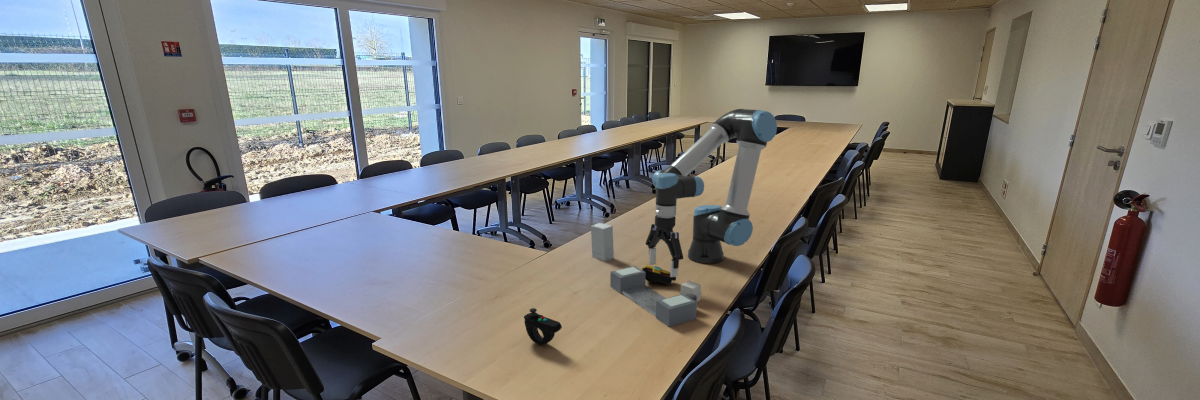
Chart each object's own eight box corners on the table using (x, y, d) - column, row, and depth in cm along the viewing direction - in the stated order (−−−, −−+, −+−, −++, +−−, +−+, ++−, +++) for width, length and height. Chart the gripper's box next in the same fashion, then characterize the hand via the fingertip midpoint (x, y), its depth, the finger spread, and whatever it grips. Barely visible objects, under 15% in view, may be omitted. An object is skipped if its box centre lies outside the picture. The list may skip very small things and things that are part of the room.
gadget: (673, 289, 187) (677, 275, 187) (638, 279, 189) (642, 264, 189) (673, 286, 193) (677, 272, 193) (640, 276, 196) (644, 262, 195)
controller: (531, 334, 154) (530, 304, 151) (564, 346, 147) (563, 315, 145) (522, 340, 150) (521, 310, 148) (554, 353, 144) (554, 321, 141)
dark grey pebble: (690, 306, 173) (691, 293, 172) (698, 311, 169) (699, 297, 168) (681, 309, 171) (682, 295, 170) (689, 313, 167) (689, 299, 166)
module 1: (634, 280, 194) (635, 265, 193) (645, 287, 188) (645, 271, 187) (610, 286, 189) (610, 270, 187) (620, 293, 183) (620, 277, 182)
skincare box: (614, 258, 218) (614, 225, 214) (604, 262, 214) (604, 228, 210) (600, 254, 224) (600, 221, 220) (590, 257, 219) (590, 224, 216)
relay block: (688, 296, 181) (689, 280, 180) (700, 300, 177) (701, 284, 176) (680, 300, 178) (680, 284, 176) (691, 304, 174) (692, 288, 173)
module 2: (682, 310, 170) (683, 293, 168) (695, 318, 164) (696, 301, 162) (655, 317, 164) (656, 300, 163) (668, 326, 158) (669, 308, 157)
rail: (636, 282, 192) (636, 279, 192) (690, 316, 165) (690, 313, 165) (614, 288, 187) (614, 285, 187) (666, 323, 160) (666, 320, 160)
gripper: (637, 209, 193) (636, 261, 198) (678, 225, 172) (675, 283, 177) (653, 207, 197) (651, 258, 202) (695, 222, 176) (691, 279, 181)
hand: (662, 270), depth 189 cm, fingers open, 13 cm apart
